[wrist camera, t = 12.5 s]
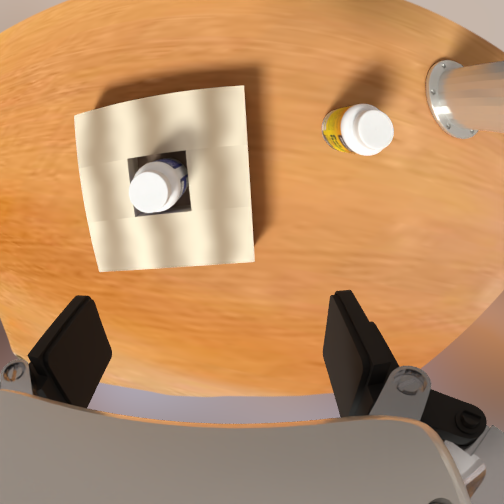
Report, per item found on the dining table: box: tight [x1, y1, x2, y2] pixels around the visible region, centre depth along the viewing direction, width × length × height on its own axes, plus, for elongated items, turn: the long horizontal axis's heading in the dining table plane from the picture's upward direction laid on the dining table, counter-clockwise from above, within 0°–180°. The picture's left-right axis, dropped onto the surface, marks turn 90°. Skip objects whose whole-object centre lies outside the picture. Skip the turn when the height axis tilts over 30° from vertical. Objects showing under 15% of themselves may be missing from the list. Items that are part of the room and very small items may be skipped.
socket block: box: [74, 85, 255, 272], centre depth 32 cm, size 20×20×4 cm
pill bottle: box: [129, 158, 189, 213], centre depth 29 cm, size 5×5×9 cm
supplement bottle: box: [322, 104, 394, 156], centre depth 28 cm, size 6×6×10 cm
